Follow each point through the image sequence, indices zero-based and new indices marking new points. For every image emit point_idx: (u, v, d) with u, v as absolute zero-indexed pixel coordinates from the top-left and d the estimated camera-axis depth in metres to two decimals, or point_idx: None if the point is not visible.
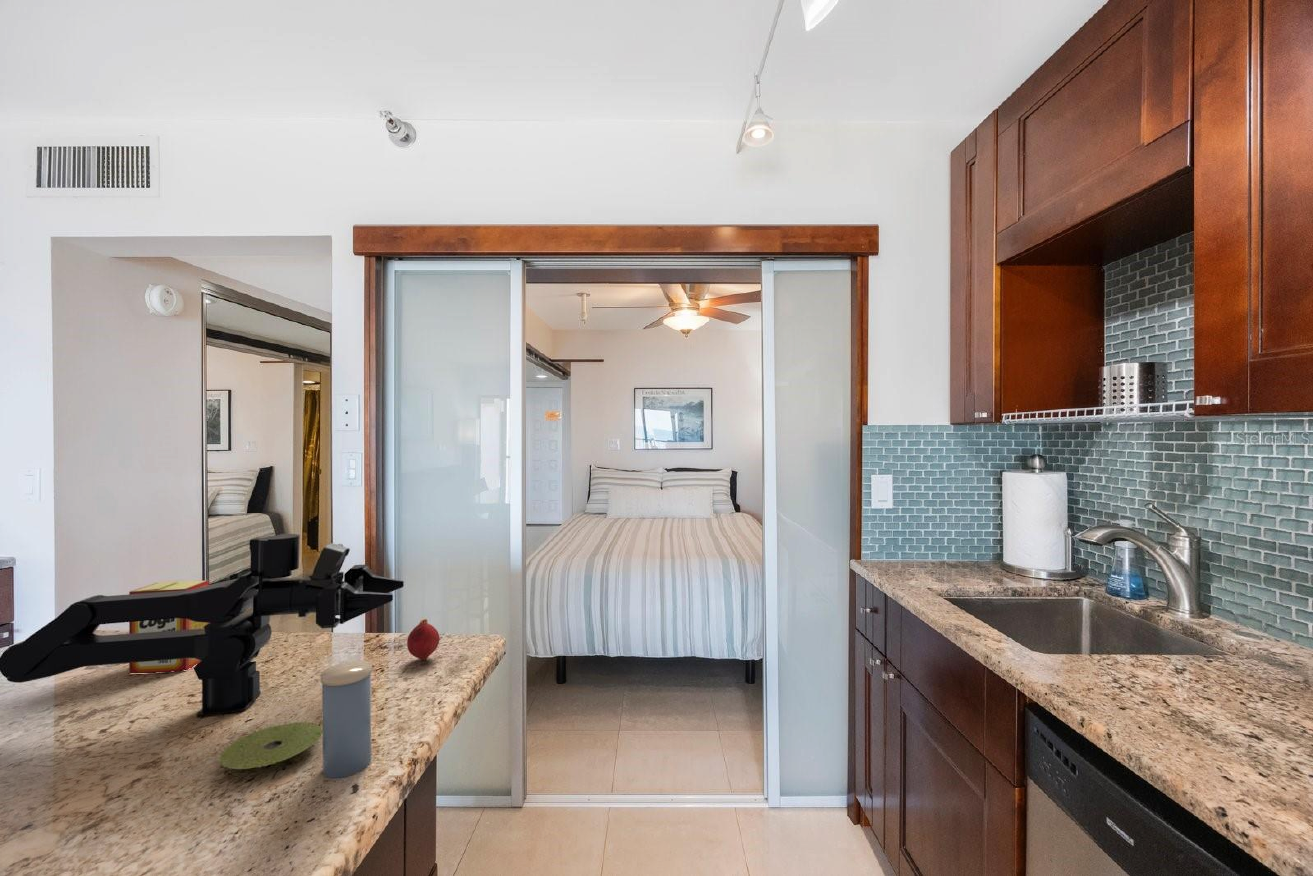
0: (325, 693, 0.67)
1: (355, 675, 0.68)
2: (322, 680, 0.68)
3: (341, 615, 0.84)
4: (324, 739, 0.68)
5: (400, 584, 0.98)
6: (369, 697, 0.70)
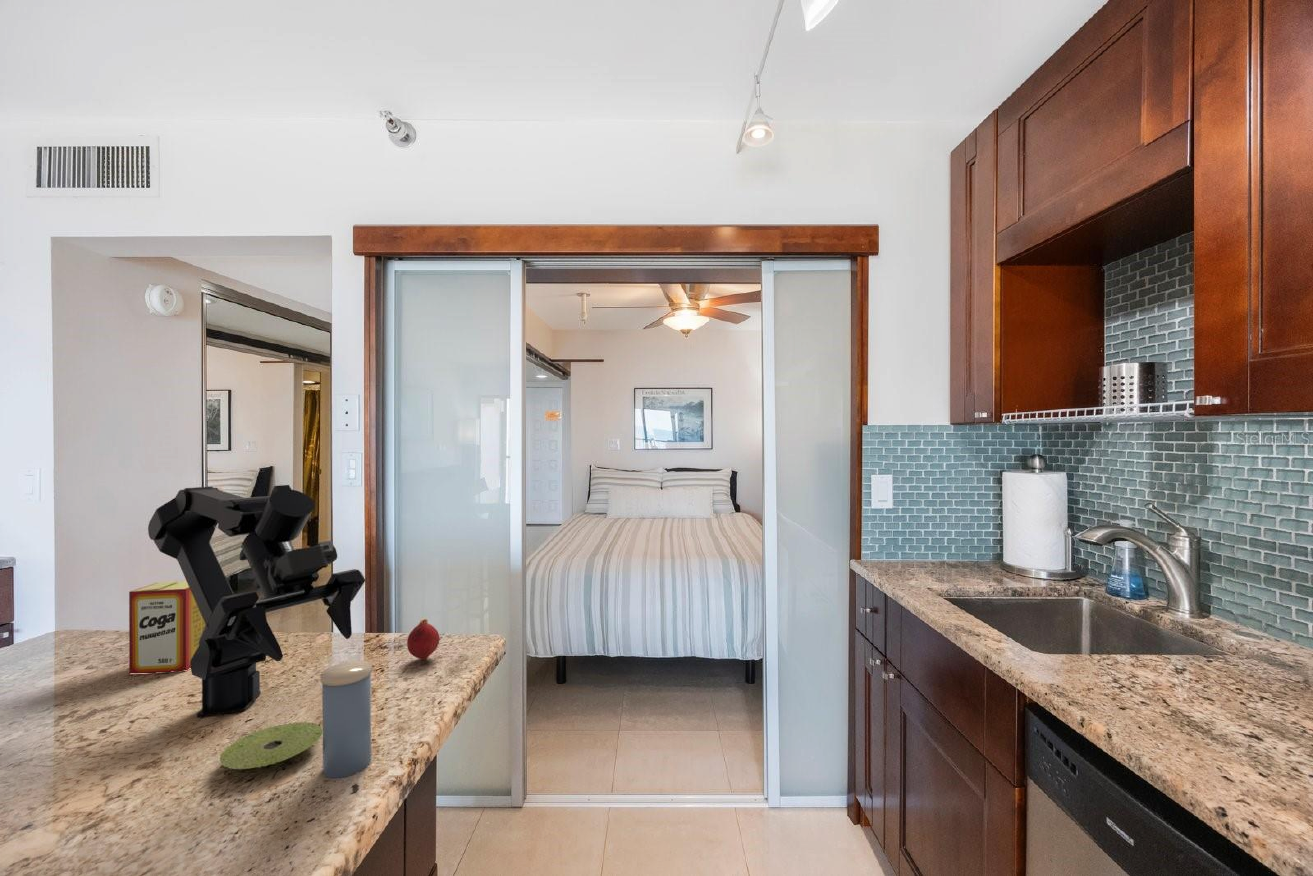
0: (325, 693, 0.67)
1: (355, 675, 0.68)
2: (322, 680, 0.68)
3: (228, 633, 0.70)
4: (324, 739, 0.68)
5: (346, 634, 0.78)
6: (369, 697, 0.70)
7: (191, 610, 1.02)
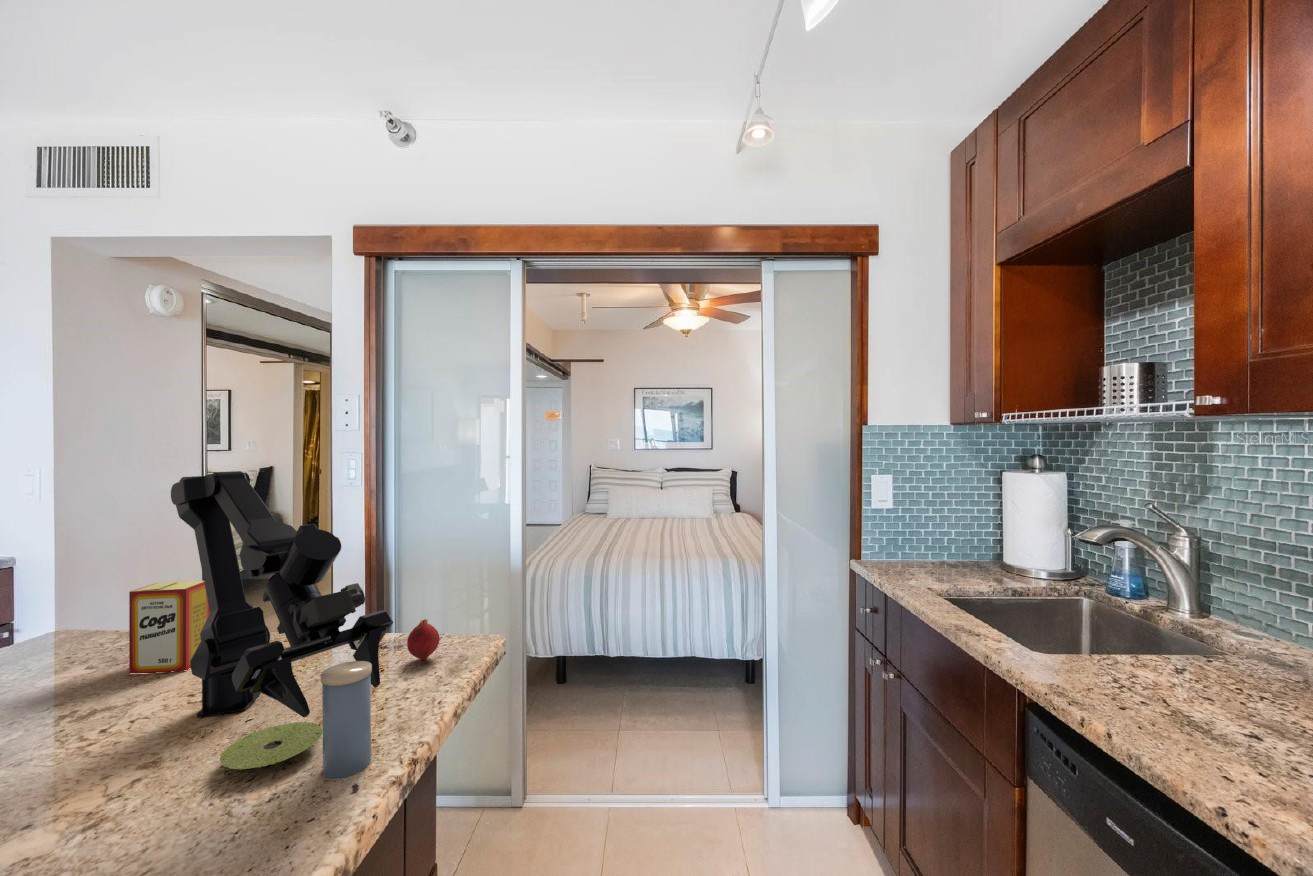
0: (325, 693, 0.67)
1: (355, 675, 0.68)
2: (322, 680, 0.68)
3: (252, 686, 0.66)
4: (324, 739, 0.68)
5: (374, 683, 0.74)
6: (369, 697, 0.70)
7: (191, 610, 1.02)
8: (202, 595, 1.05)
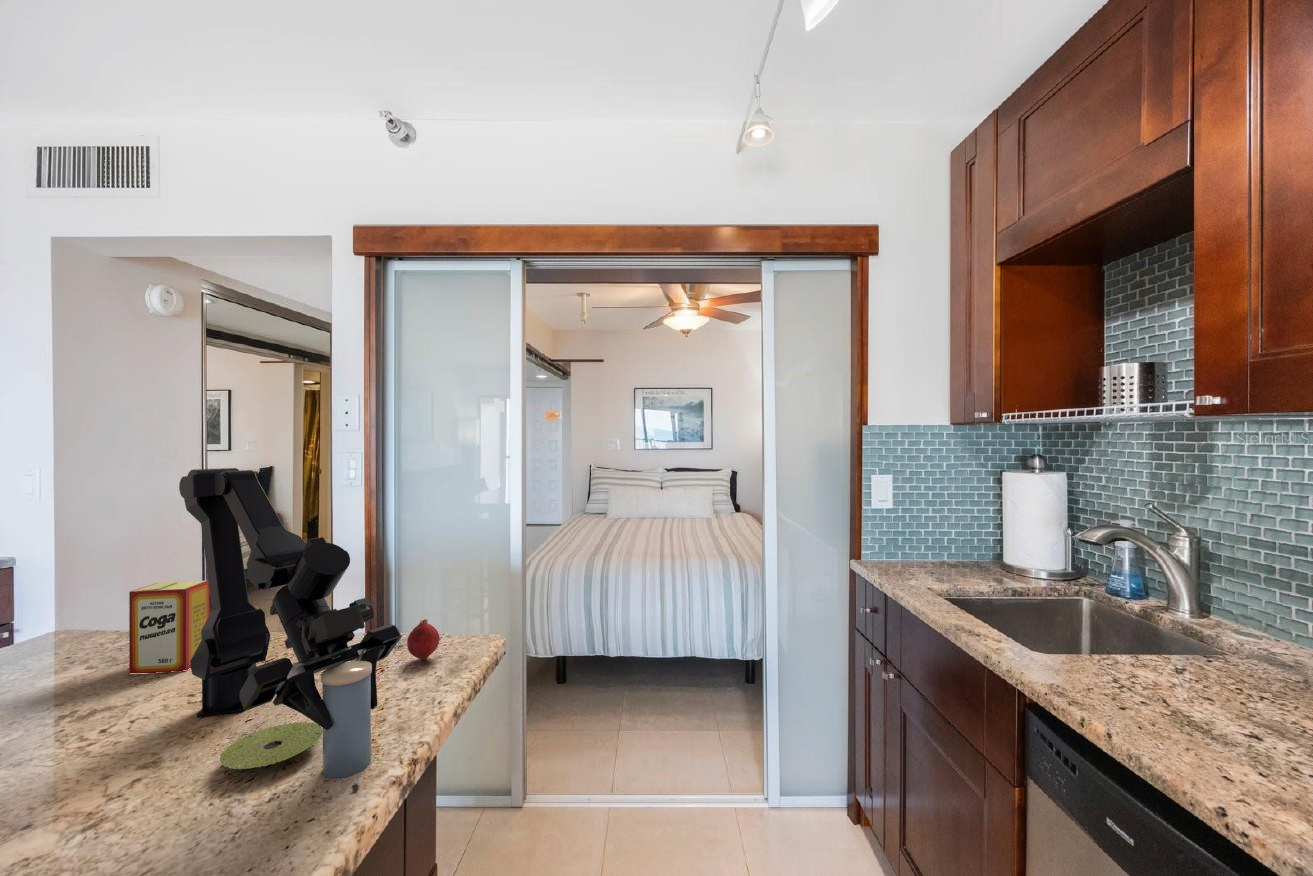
0: (325, 693, 0.67)
1: (355, 675, 0.68)
2: (322, 680, 0.68)
3: (276, 699, 0.67)
4: (324, 739, 0.68)
5: (371, 705, 0.72)
6: (369, 697, 0.70)
7: (191, 610, 1.02)
8: (202, 595, 1.05)
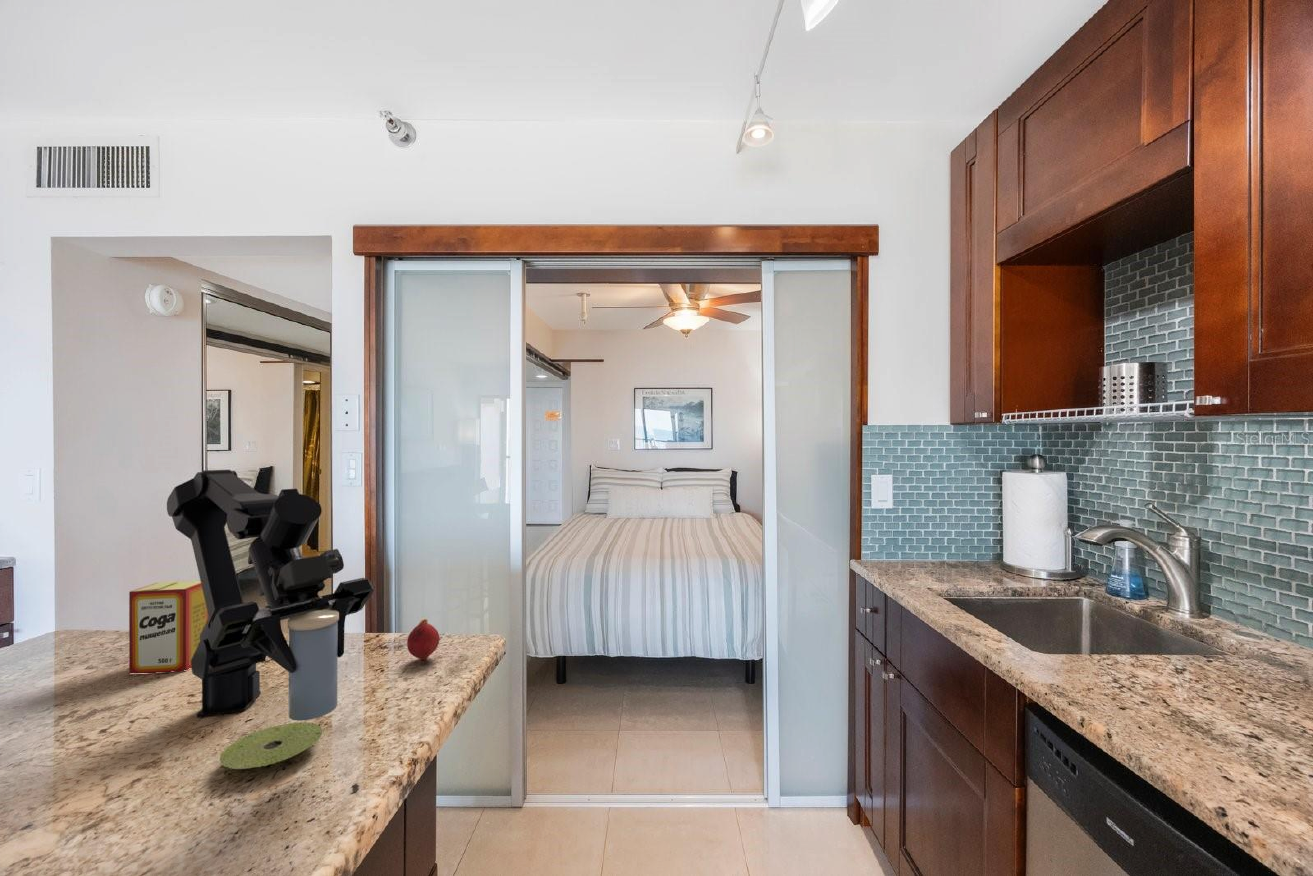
0: (291, 637, 0.69)
1: (320, 621, 0.69)
2: (288, 625, 0.69)
3: (243, 641, 0.68)
4: (289, 682, 0.69)
5: (338, 653, 0.73)
6: (335, 644, 0.72)
7: (191, 610, 1.02)
8: (202, 595, 1.05)
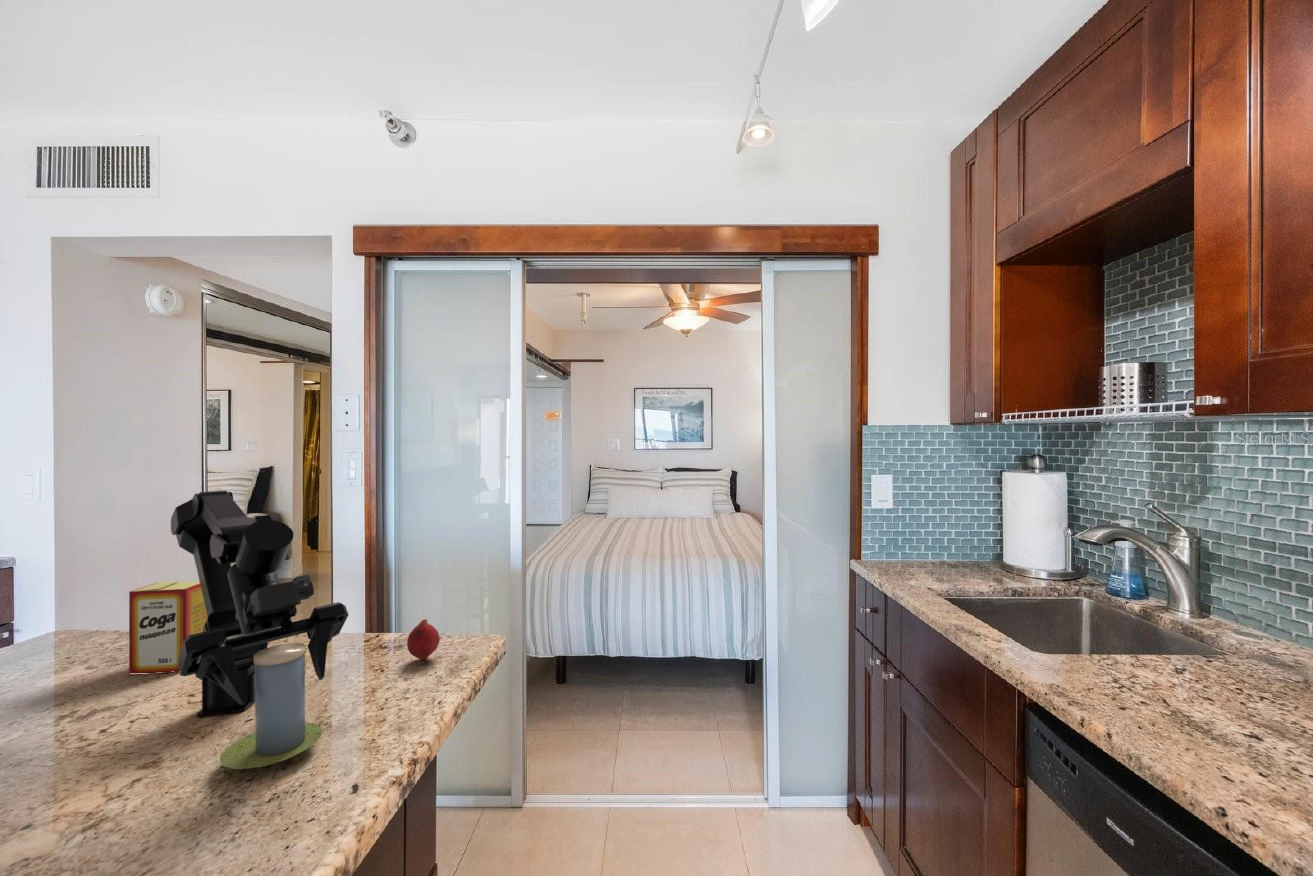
0: (256, 672, 0.69)
1: (283, 656, 0.70)
2: None
3: (197, 671, 0.68)
4: (255, 717, 0.70)
5: (319, 675, 0.74)
6: (301, 679, 0.72)
7: (191, 610, 1.02)
8: (202, 595, 1.05)
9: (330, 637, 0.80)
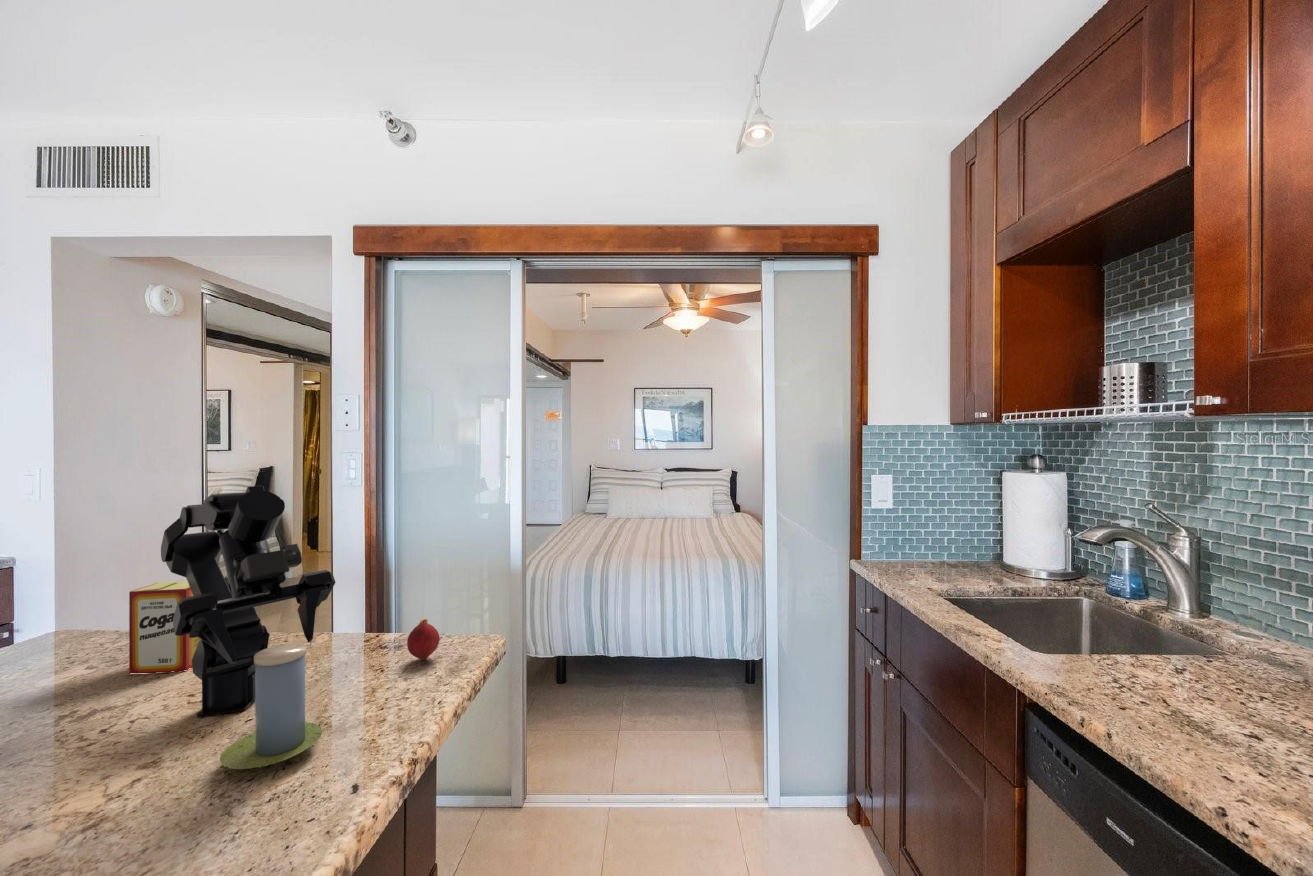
0: (256, 672, 0.69)
1: (283, 656, 0.70)
2: (254, 660, 0.70)
3: (189, 632, 0.72)
4: (255, 717, 0.70)
5: (308, 638, 0.79)
6: (301, 679, 0.72)
7: None
8: None
9: (319, 602, 0.84)
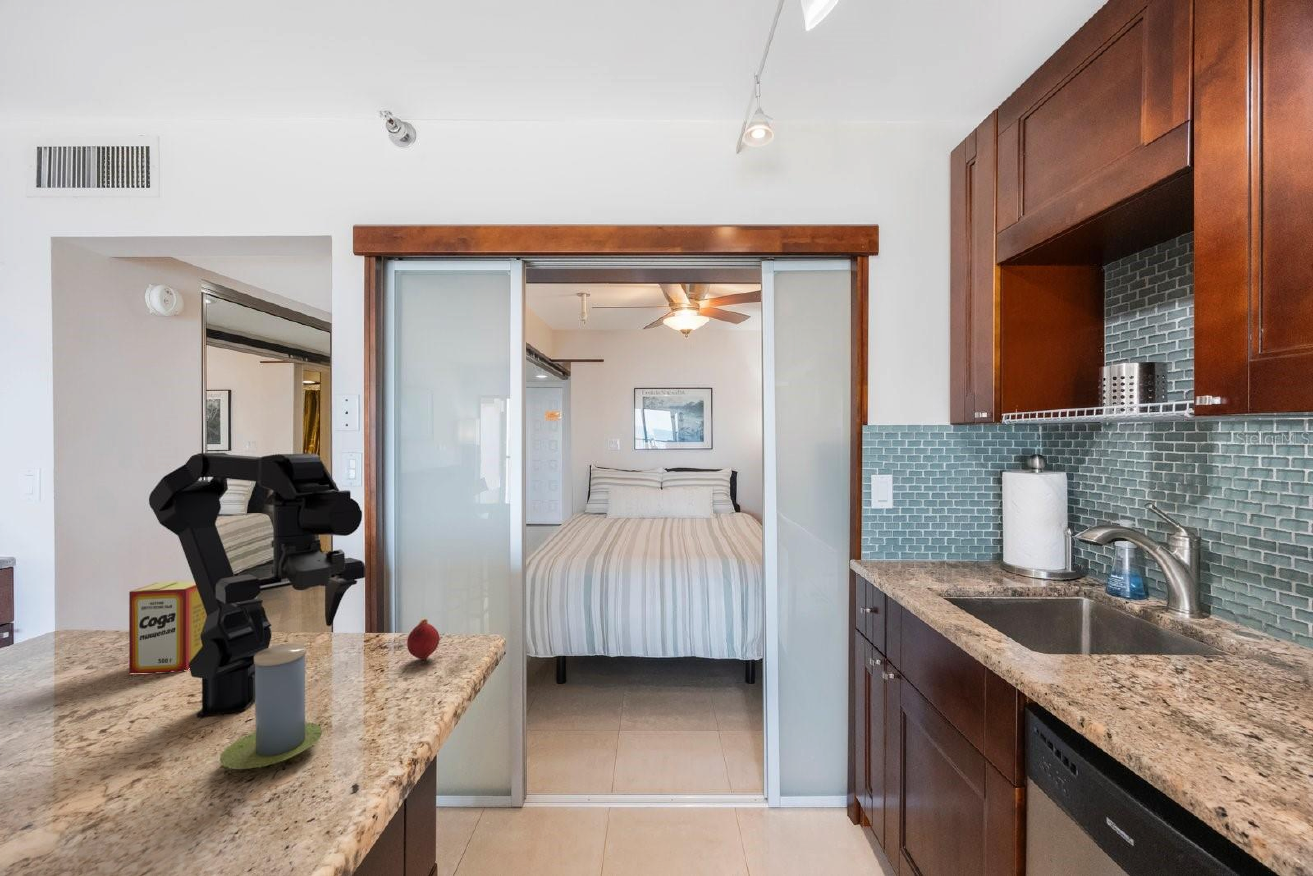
0: (256, 672, 0.69)
1: (283, 657, 0.70)
2: (254, 660, 0.70)
3: None
4: (255, 717, 0.70)
5: (327, 623, 0.86)
6: (301, 679, 0.72)
7: (191, 610, 1.02)
8: None
9: None
